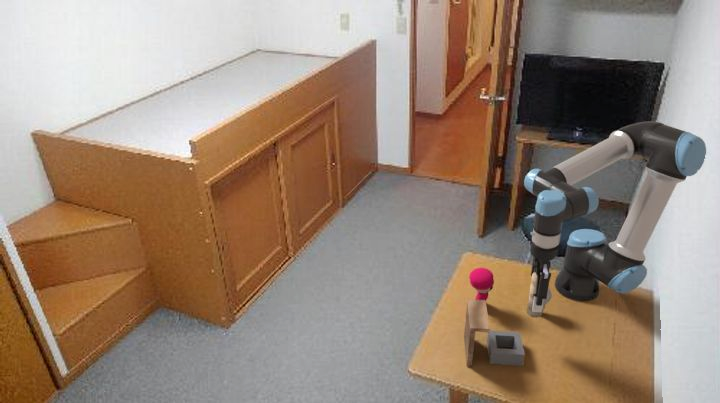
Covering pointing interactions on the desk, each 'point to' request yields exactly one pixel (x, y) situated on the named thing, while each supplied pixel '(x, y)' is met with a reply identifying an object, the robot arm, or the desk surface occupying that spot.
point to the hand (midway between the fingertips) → (535, 305)
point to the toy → (481, 282)
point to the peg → (531, 297)
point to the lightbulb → (547, 298)
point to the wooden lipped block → (474, 325)
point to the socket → (505, 355)
